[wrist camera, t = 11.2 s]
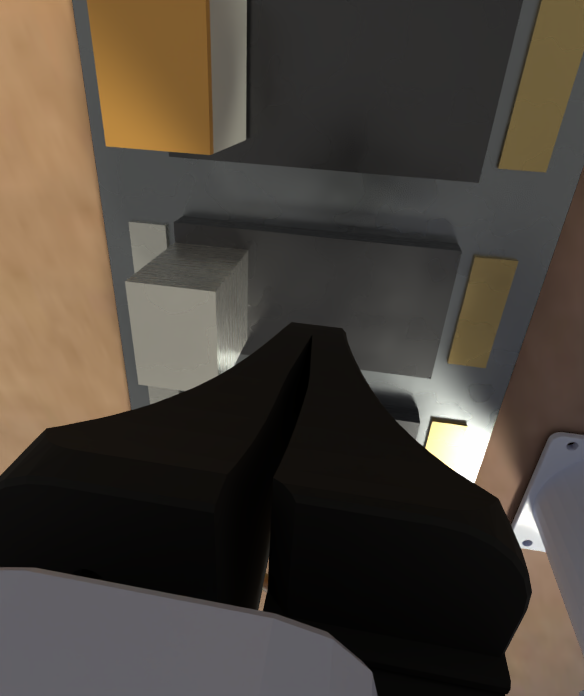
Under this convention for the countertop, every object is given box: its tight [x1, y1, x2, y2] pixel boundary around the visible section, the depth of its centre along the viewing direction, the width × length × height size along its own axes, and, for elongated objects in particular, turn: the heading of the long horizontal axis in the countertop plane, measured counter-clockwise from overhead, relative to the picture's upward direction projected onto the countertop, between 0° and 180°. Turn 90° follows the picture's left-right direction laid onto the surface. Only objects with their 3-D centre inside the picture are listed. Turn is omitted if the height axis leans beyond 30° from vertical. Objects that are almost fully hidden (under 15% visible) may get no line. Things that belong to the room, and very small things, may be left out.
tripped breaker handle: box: [87, 0, 247, 155], centre depth 14 cm, size 3×4×4 cm
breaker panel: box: [72, 0, 584, 483], centre depth 18 cm, size 18×24×6 cm
